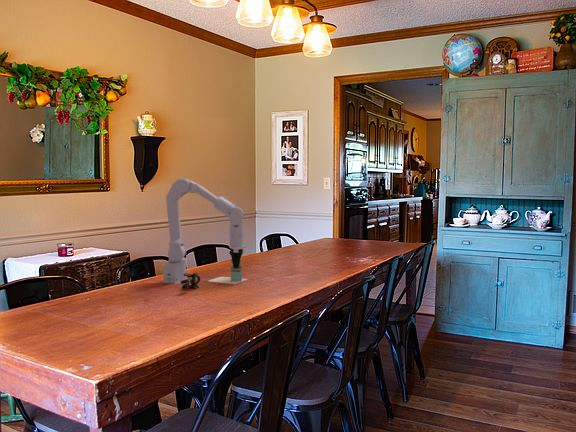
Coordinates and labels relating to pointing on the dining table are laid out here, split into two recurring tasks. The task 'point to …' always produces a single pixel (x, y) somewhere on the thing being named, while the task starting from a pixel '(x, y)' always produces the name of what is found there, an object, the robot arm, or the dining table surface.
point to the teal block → (236, 275)
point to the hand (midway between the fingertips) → (236, 267)
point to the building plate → (225, 280)
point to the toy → (191, 281)
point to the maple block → (236, 268)
